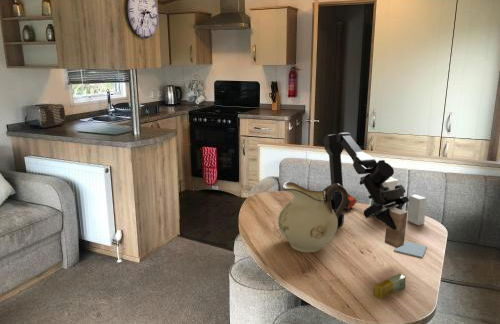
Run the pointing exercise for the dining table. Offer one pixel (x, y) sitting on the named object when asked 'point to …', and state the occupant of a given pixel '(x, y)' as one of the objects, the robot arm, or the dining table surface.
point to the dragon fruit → (351, 201)
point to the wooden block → (398, 235)
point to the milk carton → (389, 185)
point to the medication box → (389, 286)
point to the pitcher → (310, 216)
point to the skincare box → (416, 209)
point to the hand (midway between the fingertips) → (399, 228)
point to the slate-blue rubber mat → (412, 249)
